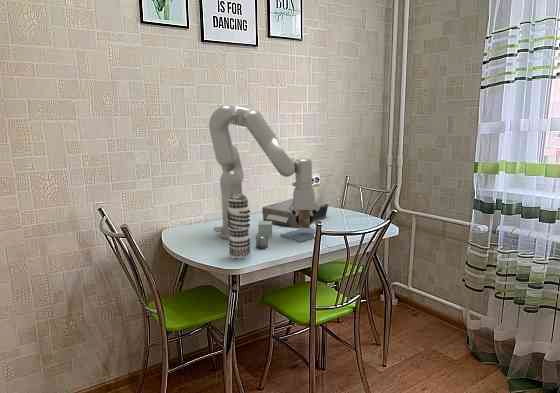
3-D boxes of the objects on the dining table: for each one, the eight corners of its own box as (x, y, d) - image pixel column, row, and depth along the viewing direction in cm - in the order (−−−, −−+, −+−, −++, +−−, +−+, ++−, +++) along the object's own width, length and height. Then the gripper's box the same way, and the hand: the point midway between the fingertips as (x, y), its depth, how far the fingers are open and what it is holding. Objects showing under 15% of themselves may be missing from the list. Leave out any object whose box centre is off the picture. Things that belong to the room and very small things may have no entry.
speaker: (294, 230, 205) (328, 217, 227) (293, 214, 203) (328, 203, 226) (259, 222, 220) (294, 211, 242) (258, 207, 219) (294, 197, 241)
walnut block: (298, 228, 192) (298, 211, 191) (298, 225, 197) (298, 208, 195) (309, 227, 192) (309, 211, 190) (309, 224, 197) (309, 208, 195)
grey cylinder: (255, 249, 176) (255, 238, 175) (256, 245, 181) (256, 234, 180) (267, 249, 176) (267, 238, 175) (268, 245, 181) (268, 234, 180)
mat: (300, 242, 184) (300, 241, 184) (279, 235, 195) (279, 234, 194) (327, 234, 196) (327, 232, 196) (306, 228, 206) (306, 227, 206)
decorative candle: (251, 251, 174) (250, 192, 169) (251, 259, 165) (249, 197, 160) (229, 251, 174) (227, 193, 169) (227, 259, 165) (225, 197, 160)
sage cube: (258, 237, 194) (258, 224, 192) (259, 233, 199) (259, 221, 198) (271, 237, 193) (271, 224, 192) (272, 233, 199) (272, 221, 198)
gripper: (284, 187, 187) (285, 226, 191) (322, 186, 186) (323, 225, 190) (285, 184, 195) (286, 221, 198) (322, 183, 194) (322, 221, 198)
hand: (304, 223), depth 194 cm, fingers closed on walnut block, 5 cm apart
